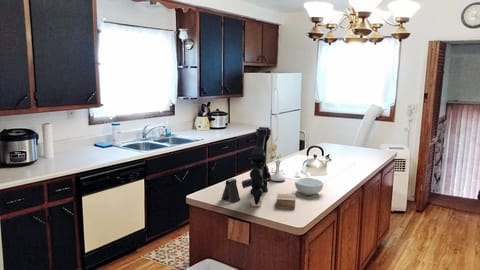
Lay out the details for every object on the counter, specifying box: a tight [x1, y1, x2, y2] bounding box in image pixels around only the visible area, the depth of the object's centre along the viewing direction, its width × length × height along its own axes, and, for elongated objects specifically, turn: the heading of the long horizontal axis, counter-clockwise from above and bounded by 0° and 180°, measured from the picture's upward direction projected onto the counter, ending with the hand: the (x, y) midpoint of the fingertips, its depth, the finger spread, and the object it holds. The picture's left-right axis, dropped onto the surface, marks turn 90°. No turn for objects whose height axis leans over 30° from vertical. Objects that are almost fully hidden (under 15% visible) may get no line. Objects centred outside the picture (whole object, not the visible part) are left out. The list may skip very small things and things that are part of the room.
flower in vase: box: [267, 143, 286, 182], centre depth 251 cm, size 13×11×25 cm
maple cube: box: [251, 195, 263, 207], centre depth 205 cm, size 5×5×5 cm
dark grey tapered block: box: [221, 178, 241, 204], centre depth 211 cm, size 9×6×12 cm, turn 50°
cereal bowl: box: [294, 177, 324, 196], centre depth 227 cm, size 17×17×7 cm
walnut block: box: [275, 192, 296, 210], centre depth 205 cm, size 10×10×5 cm
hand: (256, 202), depth 205 cm, fingers open, 5 cm apart
